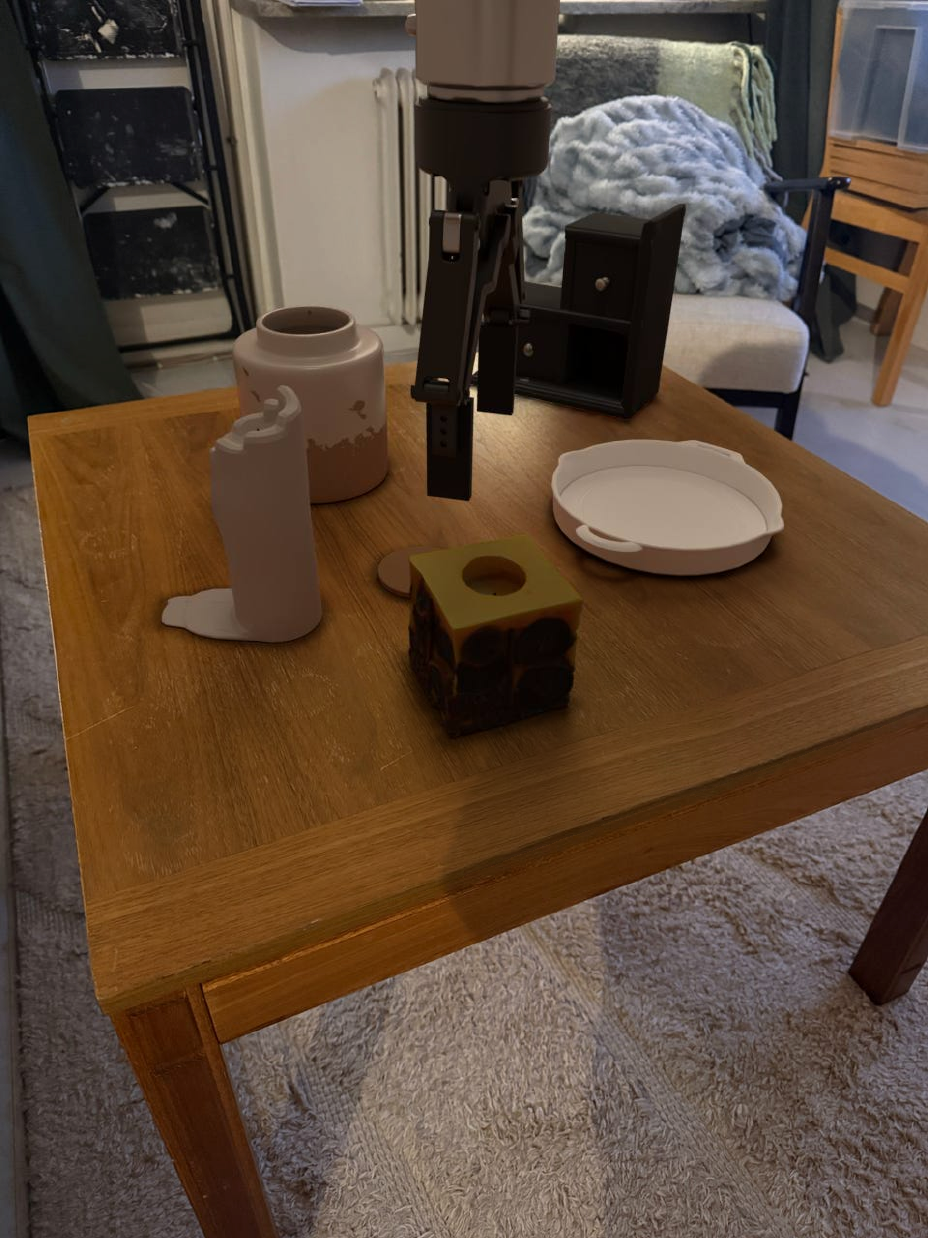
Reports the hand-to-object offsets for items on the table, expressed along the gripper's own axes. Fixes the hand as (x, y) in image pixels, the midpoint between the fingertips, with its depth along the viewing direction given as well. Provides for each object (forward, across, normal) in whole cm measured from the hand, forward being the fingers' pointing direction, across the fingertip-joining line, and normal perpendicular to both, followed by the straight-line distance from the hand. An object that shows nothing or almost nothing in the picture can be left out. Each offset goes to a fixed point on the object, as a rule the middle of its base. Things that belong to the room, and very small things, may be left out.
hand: (474, 450), depth 60 cm
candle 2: (+18, 0, -20) cm, 27 cm away
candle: (+18, +3, +2) cm, 19 cm away
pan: (+18, -26, +14) cm, 35 cm away
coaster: (+18, -10, -7) cm, 22 cm away
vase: (+18, -27, -24) cm, 40 cm away
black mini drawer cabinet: (+18, -58, -1) cm, 61 cm away
